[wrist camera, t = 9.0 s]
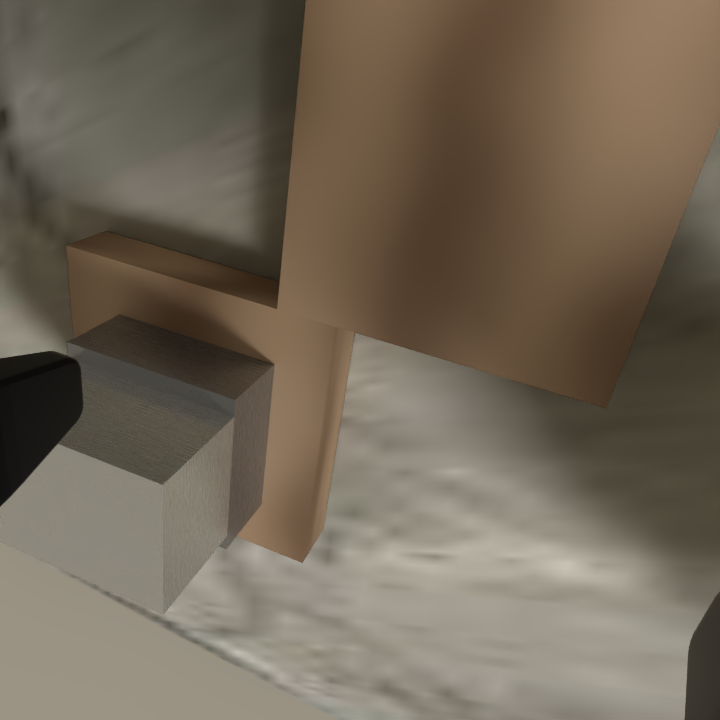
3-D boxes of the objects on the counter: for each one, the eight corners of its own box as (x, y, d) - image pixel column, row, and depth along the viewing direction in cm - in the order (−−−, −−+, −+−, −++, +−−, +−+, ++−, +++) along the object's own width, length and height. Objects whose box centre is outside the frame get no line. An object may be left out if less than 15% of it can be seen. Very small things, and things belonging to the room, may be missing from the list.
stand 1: (359, 304, 21) (336, 327, 19) (323, 529, 26) (302, 562, 24) (106, 231, 23) (66, 245, 22) (116, 449, 28) (84, 474, 27)
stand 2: (755, -5, 14) (773, -12, 13) (607, 376, 19) (606, 408, 17) (344, -63, 17) (312, -75, 15) (304, 288, 22) (277, 308, 20)
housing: (274, 364, 21) (162, 466, 16) (261, 504, 24) (163, 628, 19) (119, 314, 22) (-29, 392, 17) (125, 451, 25) (-1, 554, 20)
